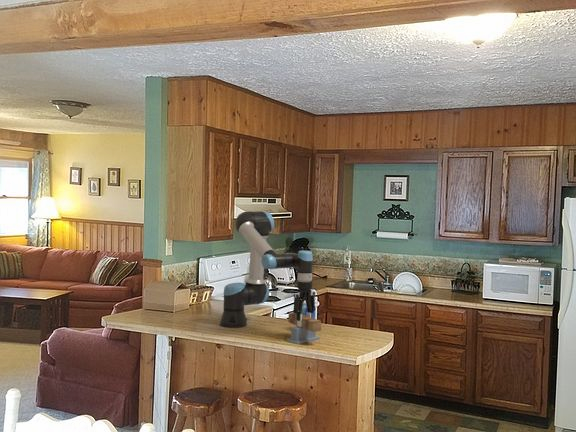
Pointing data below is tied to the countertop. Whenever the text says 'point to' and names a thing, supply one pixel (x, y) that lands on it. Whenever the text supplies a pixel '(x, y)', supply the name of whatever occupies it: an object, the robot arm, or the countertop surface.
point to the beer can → (304, 310)
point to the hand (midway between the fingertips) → (304, 325)
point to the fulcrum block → (302, 335)
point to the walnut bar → (306, 322)
